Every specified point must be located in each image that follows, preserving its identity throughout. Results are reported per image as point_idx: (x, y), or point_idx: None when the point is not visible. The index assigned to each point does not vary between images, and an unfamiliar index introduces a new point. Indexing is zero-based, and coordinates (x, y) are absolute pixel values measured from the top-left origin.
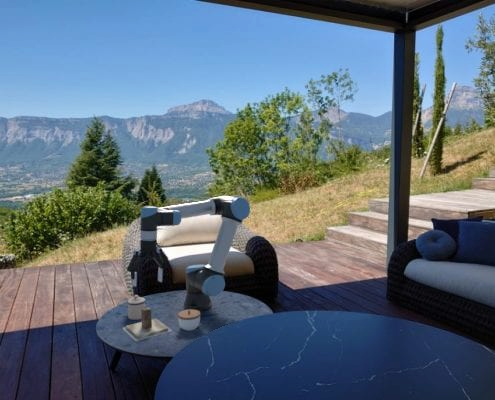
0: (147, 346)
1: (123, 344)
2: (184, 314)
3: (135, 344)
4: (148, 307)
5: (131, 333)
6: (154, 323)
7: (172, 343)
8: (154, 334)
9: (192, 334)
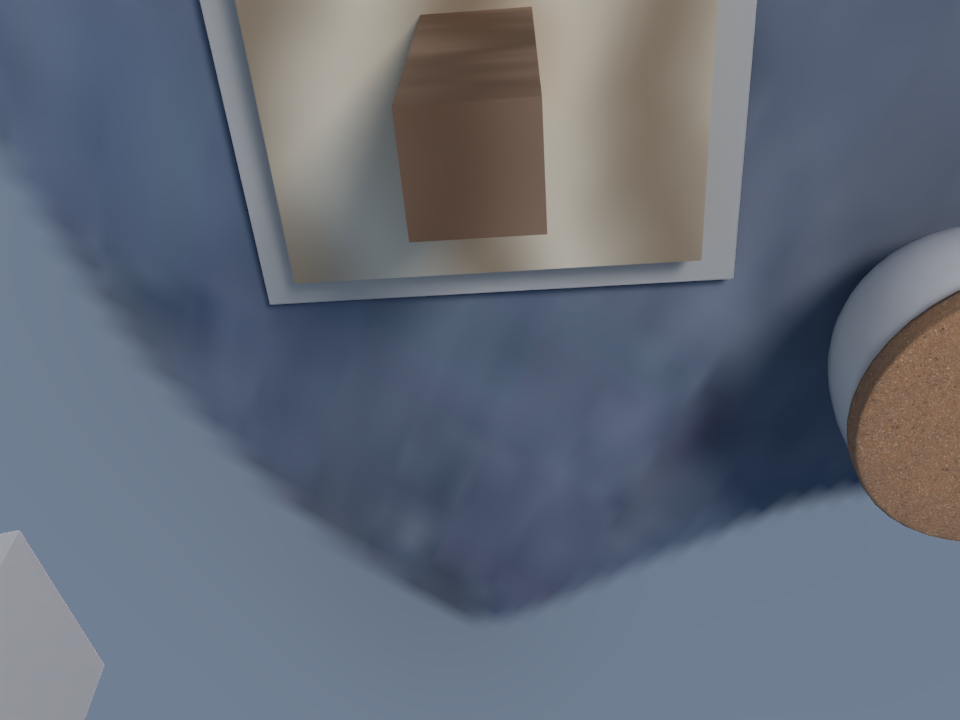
0: (360, 433)
1: (136, 273)
2: (944, 437)
3: (259, 338)
4: (535, 132)
5: None
6: (623, 4)
7: (590, 494)
8: None
9: None
